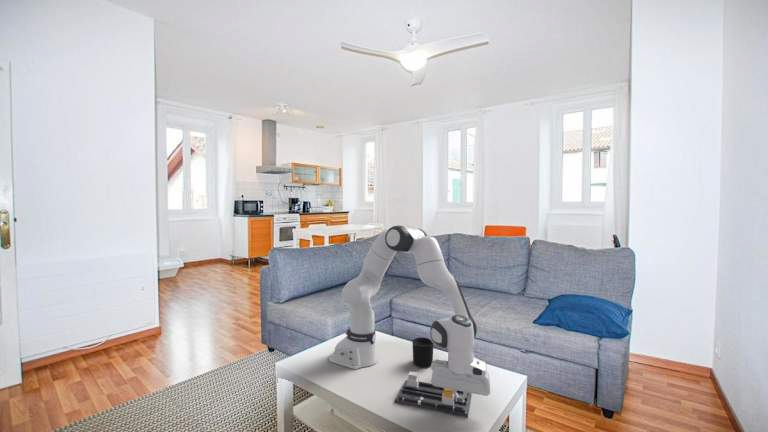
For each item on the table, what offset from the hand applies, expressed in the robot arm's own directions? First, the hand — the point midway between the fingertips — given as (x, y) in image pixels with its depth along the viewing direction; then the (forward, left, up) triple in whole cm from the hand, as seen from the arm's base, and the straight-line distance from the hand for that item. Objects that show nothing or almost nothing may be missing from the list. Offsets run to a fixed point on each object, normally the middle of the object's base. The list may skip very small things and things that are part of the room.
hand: (459, 401), depth 121 cm
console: (-10, +3, -3) cm, 11 cm away
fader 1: (-19, +7, -2) cm, 20 cm away
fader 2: (-4, 0, -2) cm, 4 cm away
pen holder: (-20, +29, -3) cm, 35 cm away
